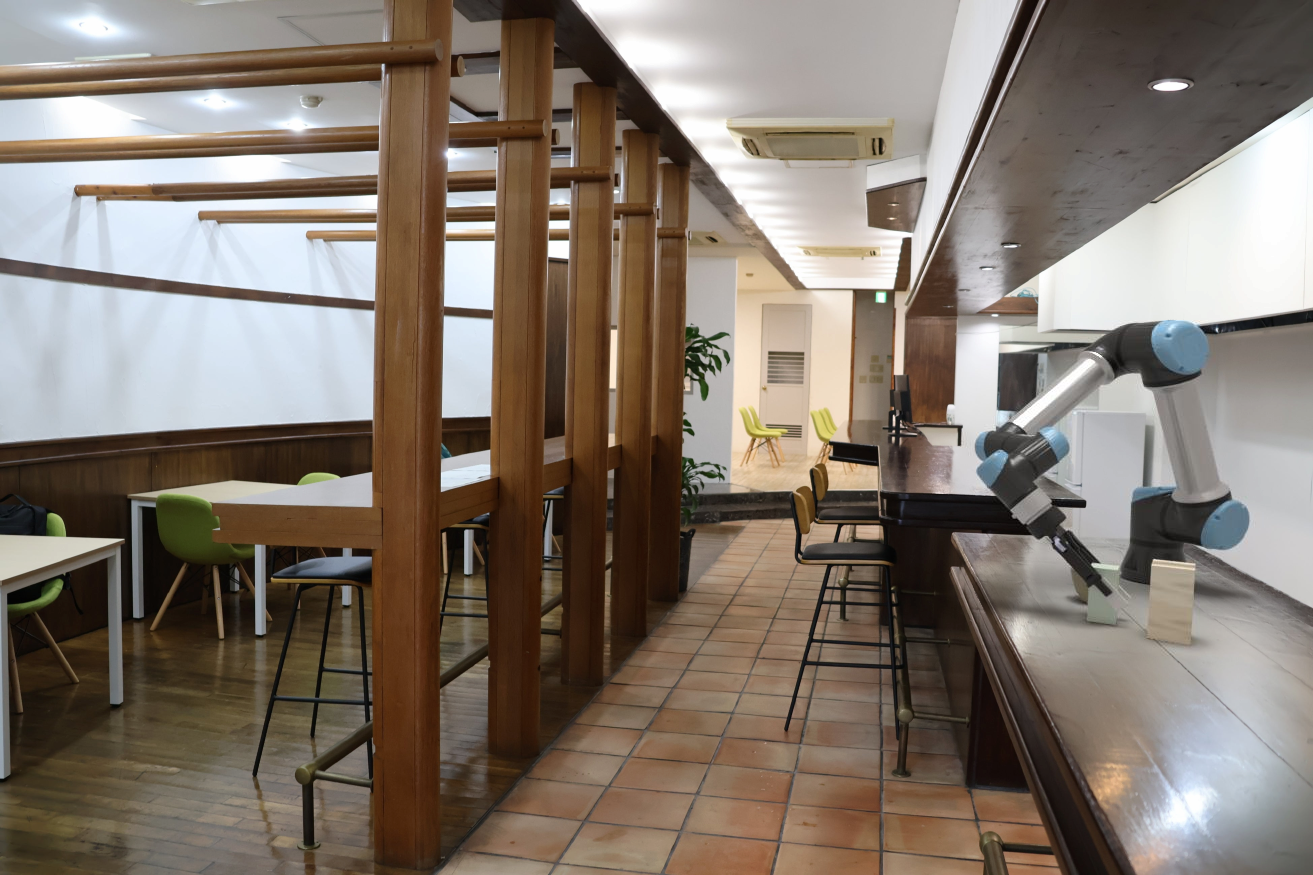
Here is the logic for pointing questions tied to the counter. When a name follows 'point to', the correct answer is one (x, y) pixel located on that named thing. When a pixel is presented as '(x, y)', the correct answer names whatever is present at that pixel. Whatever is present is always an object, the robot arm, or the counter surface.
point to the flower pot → (1082, 585)
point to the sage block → (1096, 603)
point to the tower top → (1172, 583)
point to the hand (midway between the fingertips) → (1123, 604)
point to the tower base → (1170, 623)
